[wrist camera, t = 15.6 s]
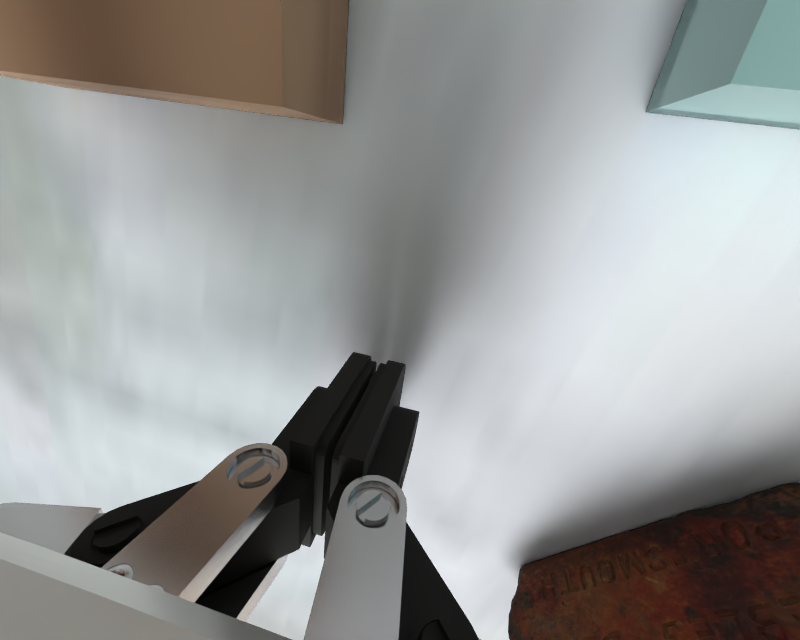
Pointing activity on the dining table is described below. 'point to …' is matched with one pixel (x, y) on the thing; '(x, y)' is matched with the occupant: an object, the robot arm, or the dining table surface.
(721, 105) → the tray
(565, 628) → the brick
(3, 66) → the wooden square frame
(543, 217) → the dining table surface
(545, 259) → the dining table surface
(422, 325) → the dining table surface
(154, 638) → the robot arm
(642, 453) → the dining table surface
